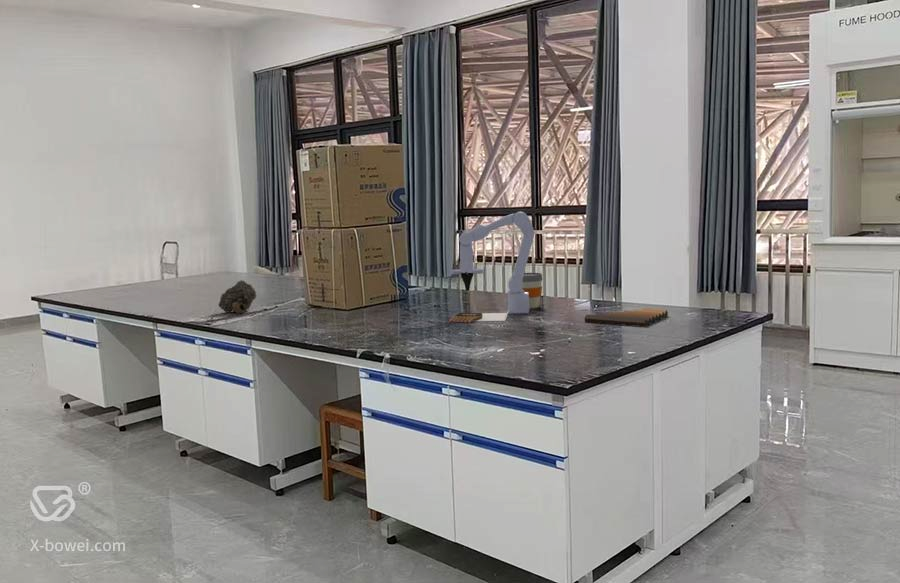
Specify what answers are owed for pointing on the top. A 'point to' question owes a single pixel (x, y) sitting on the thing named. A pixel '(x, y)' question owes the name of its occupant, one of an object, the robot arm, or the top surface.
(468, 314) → the ammunition clip
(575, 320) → the top surface
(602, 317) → the pan flute
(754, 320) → the top surface
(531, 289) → the reusable coffee cup
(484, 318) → the mat
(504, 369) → the top surface
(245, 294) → the rock
